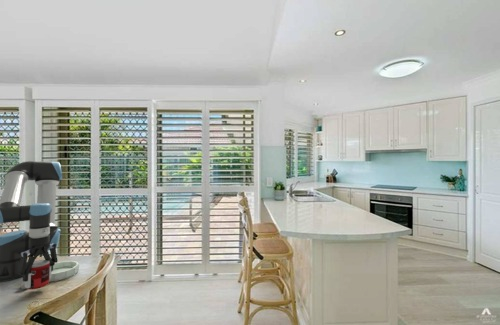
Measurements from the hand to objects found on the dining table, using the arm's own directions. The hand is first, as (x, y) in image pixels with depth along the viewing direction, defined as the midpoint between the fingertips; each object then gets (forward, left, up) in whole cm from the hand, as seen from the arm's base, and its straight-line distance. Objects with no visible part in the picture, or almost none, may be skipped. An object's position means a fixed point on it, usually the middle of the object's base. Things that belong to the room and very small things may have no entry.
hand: (38, 282), depth 114 cm
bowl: (-10, +16, -4) cm, 19 cm away
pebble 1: (-12, +2, -4) cm, 12 cm away
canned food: (0, 0, -2) cm, 2 cm away
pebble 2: (-9, 0, -4) cm, 9 cm away
